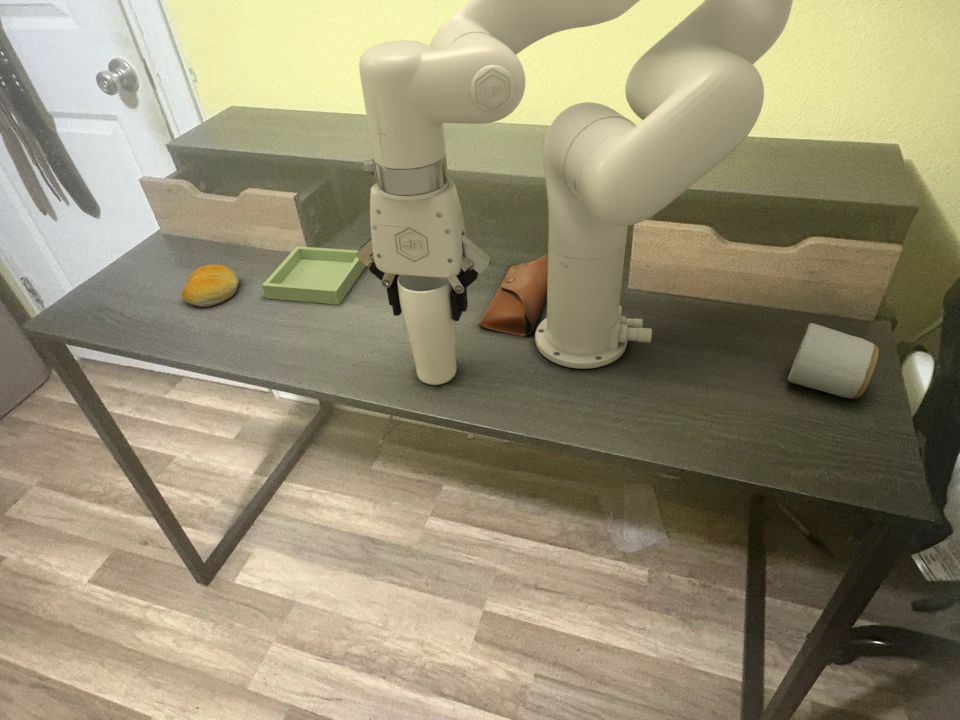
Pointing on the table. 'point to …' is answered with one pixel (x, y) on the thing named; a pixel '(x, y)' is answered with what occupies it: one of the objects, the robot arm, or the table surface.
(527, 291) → the sunglasses case
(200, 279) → the bread roll
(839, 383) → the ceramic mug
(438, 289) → the drinking glass
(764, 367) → the table surface
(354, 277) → the tray
